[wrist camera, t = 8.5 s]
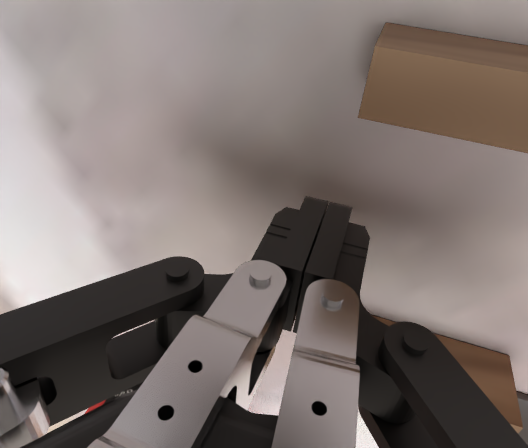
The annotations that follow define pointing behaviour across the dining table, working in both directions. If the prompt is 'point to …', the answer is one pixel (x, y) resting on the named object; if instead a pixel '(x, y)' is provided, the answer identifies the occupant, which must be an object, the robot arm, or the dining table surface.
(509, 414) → the trap lane
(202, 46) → the dining table surface
